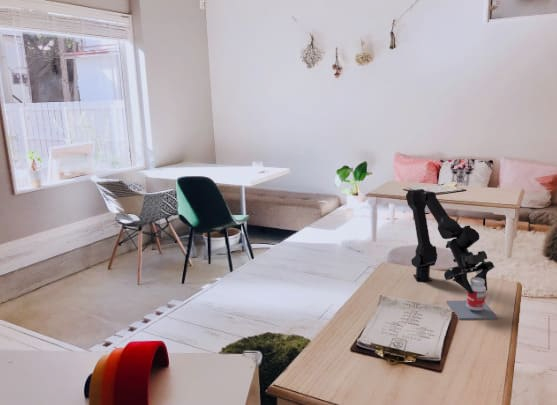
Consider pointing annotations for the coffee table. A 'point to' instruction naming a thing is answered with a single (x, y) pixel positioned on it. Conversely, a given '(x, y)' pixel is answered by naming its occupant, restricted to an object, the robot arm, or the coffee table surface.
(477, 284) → the pill bottle
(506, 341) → the coffee table surface
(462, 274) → the robot arm
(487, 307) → the mat
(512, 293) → the coffee table surface
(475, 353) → the coffee table surface
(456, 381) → the coffee table surface
